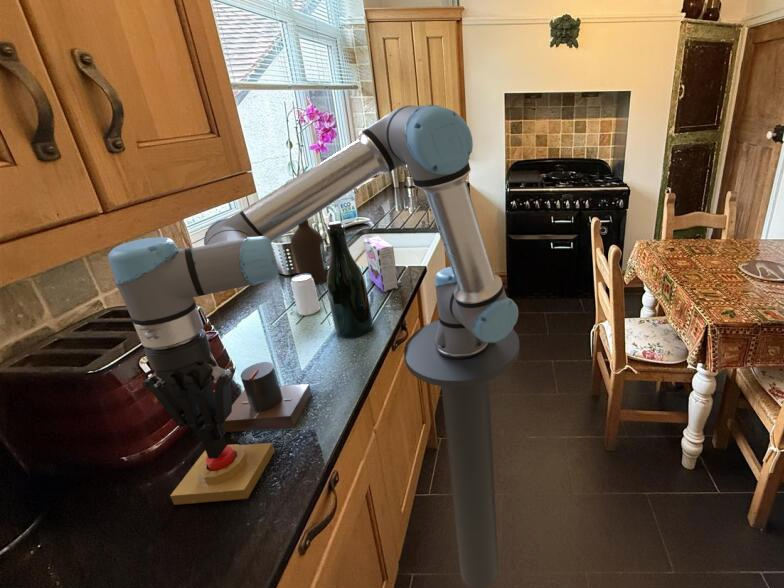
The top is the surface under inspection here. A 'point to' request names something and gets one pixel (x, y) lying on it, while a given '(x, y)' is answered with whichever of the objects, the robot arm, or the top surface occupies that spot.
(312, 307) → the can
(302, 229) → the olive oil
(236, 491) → the switch block
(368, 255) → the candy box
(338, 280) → the dark green wine bottle
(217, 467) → the light button
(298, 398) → the panel
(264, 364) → the dimmer knob
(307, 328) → the top surface
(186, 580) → the top surface
